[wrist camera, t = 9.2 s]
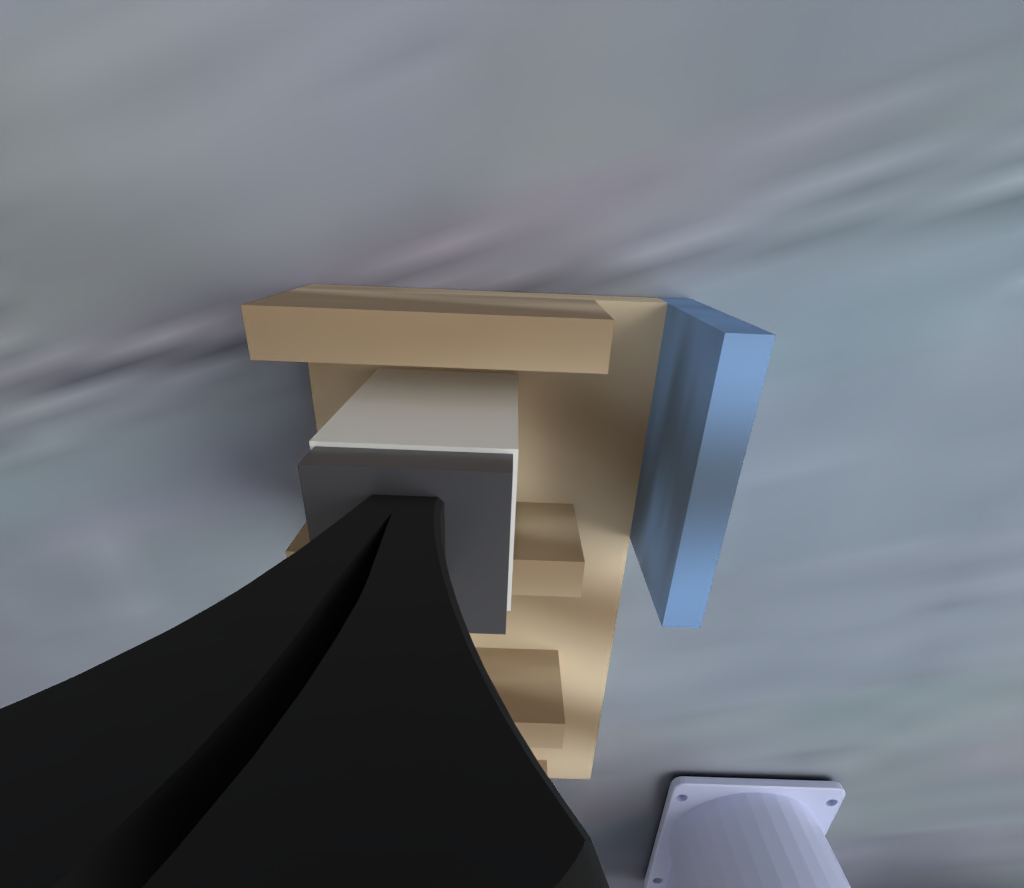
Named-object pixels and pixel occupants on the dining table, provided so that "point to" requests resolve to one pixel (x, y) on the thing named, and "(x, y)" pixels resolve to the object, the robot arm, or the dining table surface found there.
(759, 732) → the dining table surface
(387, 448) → the grey rectangular block
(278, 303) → the cable comb
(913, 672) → the dining table surface
